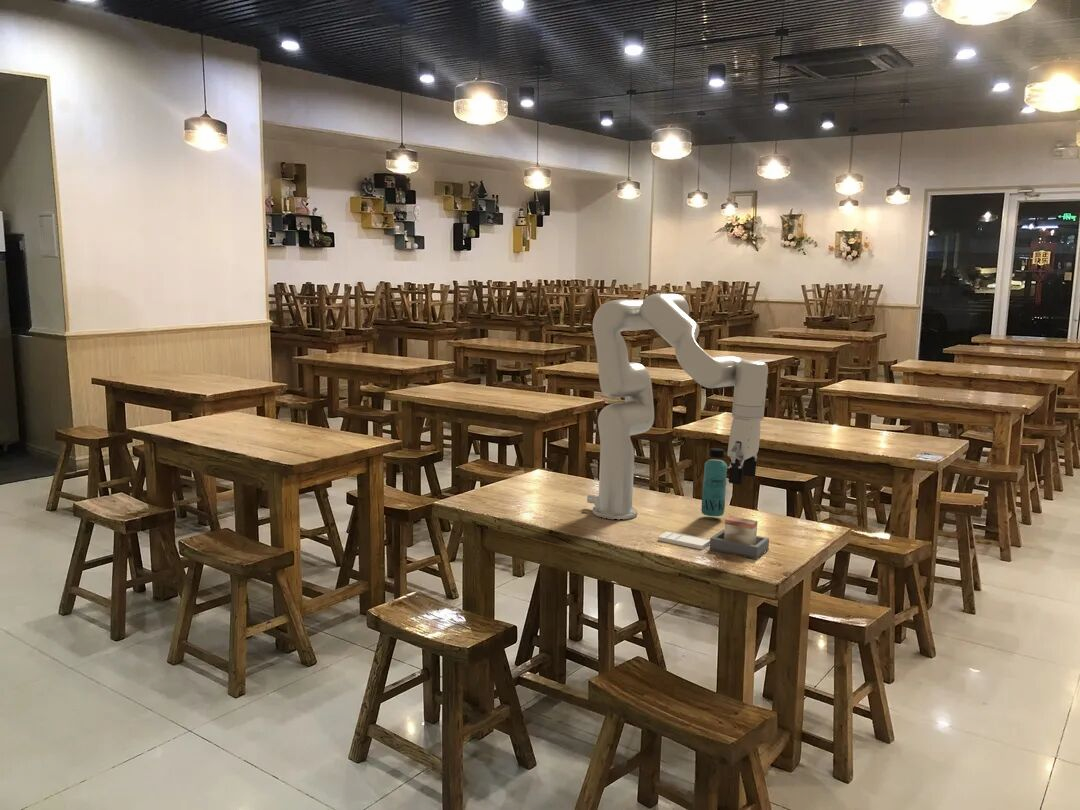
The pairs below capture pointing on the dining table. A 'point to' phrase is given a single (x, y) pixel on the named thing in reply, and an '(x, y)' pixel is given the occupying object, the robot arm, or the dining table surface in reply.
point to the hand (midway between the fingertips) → (741, 479)
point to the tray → (739, 546)
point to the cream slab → (684, 540)
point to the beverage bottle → (714, 484)
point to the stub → (740, 530)
